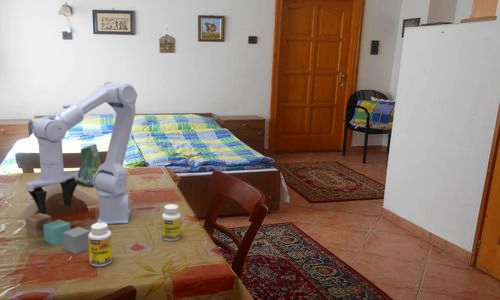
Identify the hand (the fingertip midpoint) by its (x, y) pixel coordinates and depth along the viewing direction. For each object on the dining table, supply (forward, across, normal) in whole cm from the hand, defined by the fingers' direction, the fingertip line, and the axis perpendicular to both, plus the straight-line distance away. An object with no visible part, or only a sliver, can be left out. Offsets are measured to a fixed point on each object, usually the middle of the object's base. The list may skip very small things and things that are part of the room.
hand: (55, 209), depth 119 cm
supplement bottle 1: (+10, +1, +21) cm, 23 cm away
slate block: (+10, 0, +9) cm, 13 cm away
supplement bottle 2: (+10, -20, +25) cm, 34 cm away
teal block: (+10, 0, 0) cm, 10 cm away
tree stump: (+10, -44, -37) cm, 58 cm away
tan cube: (+10, 0, -9) cm, 13 cm away
